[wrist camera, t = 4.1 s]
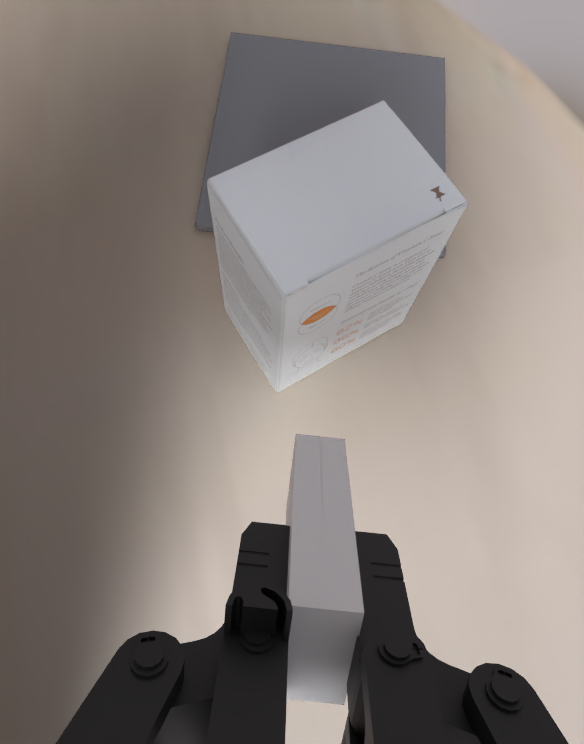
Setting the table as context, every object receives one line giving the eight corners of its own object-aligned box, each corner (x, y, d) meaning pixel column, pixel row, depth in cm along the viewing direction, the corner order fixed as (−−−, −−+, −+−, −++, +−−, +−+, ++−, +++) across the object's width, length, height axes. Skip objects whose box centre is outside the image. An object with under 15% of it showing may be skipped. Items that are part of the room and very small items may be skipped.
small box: (347, 247, 31) (387, 93, 21) (403, 326, 29) (476, 199, 20) (221, 310, 29) (201, 173, 19) (274, 397, 28) (282, 297, 18)
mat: (195, 229, 31) (195, 225, 30) (231, 38, 36) (231, 32, 36) (443, 257, 31) (445, 254, 31) (442, 63, 36) (444, 58, 36)
